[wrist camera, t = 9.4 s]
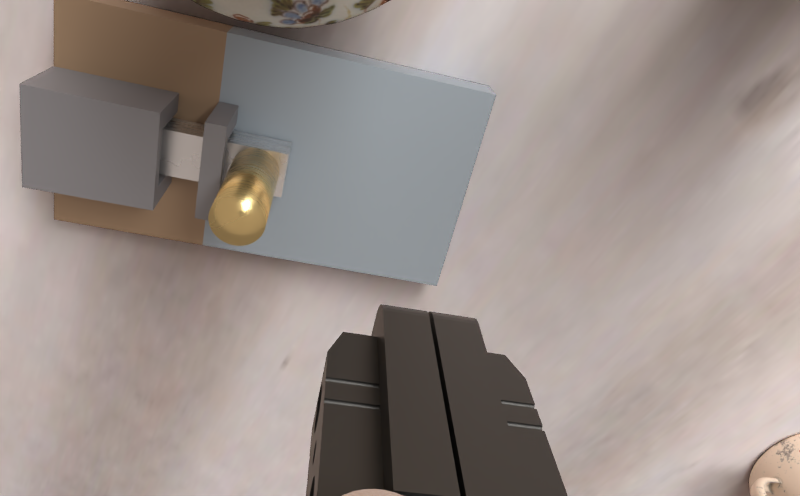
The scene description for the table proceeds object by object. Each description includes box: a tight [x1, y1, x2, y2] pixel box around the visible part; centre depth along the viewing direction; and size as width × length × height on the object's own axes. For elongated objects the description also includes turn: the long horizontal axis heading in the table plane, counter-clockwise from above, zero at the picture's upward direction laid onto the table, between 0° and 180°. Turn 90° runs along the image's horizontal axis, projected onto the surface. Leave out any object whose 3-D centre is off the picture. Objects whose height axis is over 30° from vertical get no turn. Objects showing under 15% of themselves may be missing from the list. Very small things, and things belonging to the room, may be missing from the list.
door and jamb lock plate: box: [20, 0, 496, 286], centre depth 33 cm, size 22×12×6 cm, turn 77°
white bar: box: [159, 118, 292, 246], centre depth 30 cm, size 10×2×8 cm, turn 77°
